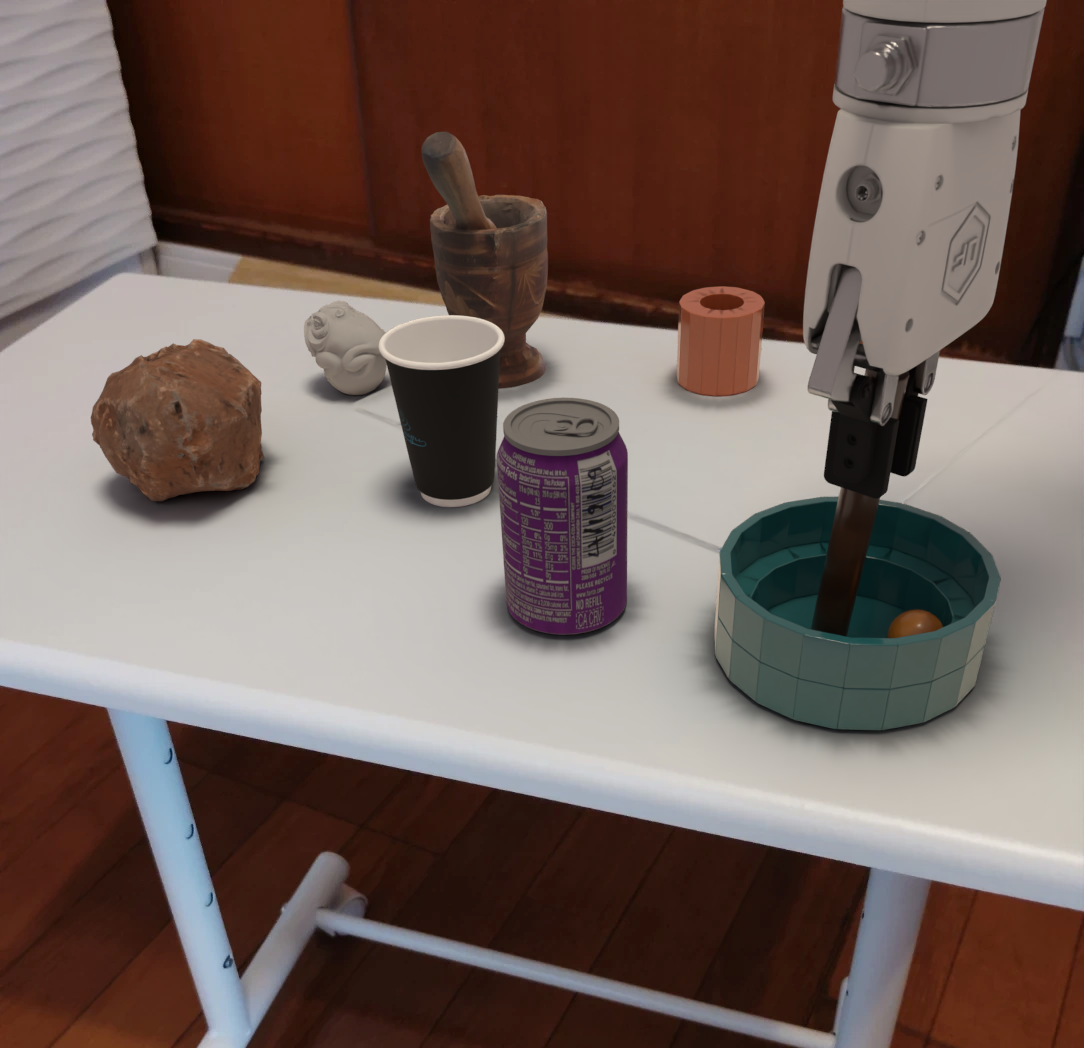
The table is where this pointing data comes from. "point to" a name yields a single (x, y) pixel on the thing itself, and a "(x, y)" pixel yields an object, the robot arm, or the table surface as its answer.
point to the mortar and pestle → (488, 256)
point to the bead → (913, 624)
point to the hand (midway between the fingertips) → (868, 475)
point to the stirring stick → (848, 547)
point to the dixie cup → (447, 403)
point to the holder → (719, 340)
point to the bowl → (853, 616)
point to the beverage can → (564, 515)
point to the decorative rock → (182, 421)
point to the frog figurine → (346, 347)
